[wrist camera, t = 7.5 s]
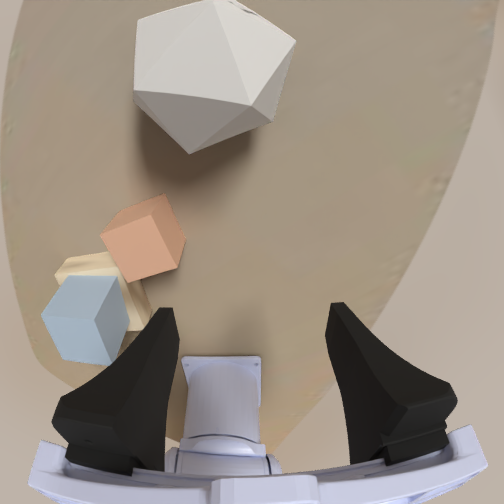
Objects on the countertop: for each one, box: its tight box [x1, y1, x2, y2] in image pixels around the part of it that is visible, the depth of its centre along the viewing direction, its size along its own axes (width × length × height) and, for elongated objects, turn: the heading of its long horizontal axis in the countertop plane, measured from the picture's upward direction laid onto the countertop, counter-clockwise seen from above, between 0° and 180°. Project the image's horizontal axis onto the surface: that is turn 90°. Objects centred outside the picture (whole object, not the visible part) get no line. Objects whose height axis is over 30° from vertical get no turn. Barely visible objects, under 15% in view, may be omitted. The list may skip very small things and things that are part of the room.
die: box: [133, 0, 296, 154], centre depth 14 cm, size 8×9×10 cm
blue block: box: [41, 275, 130, 366], centre depth 21 cm, size 4×4×5 cm
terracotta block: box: [100, 193, 186, 283], centre depth 21 cm, size 4×4×4 cm
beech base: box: [55, 252, 152, 331], centre depth 24 cm, size 6×6×3 cm
